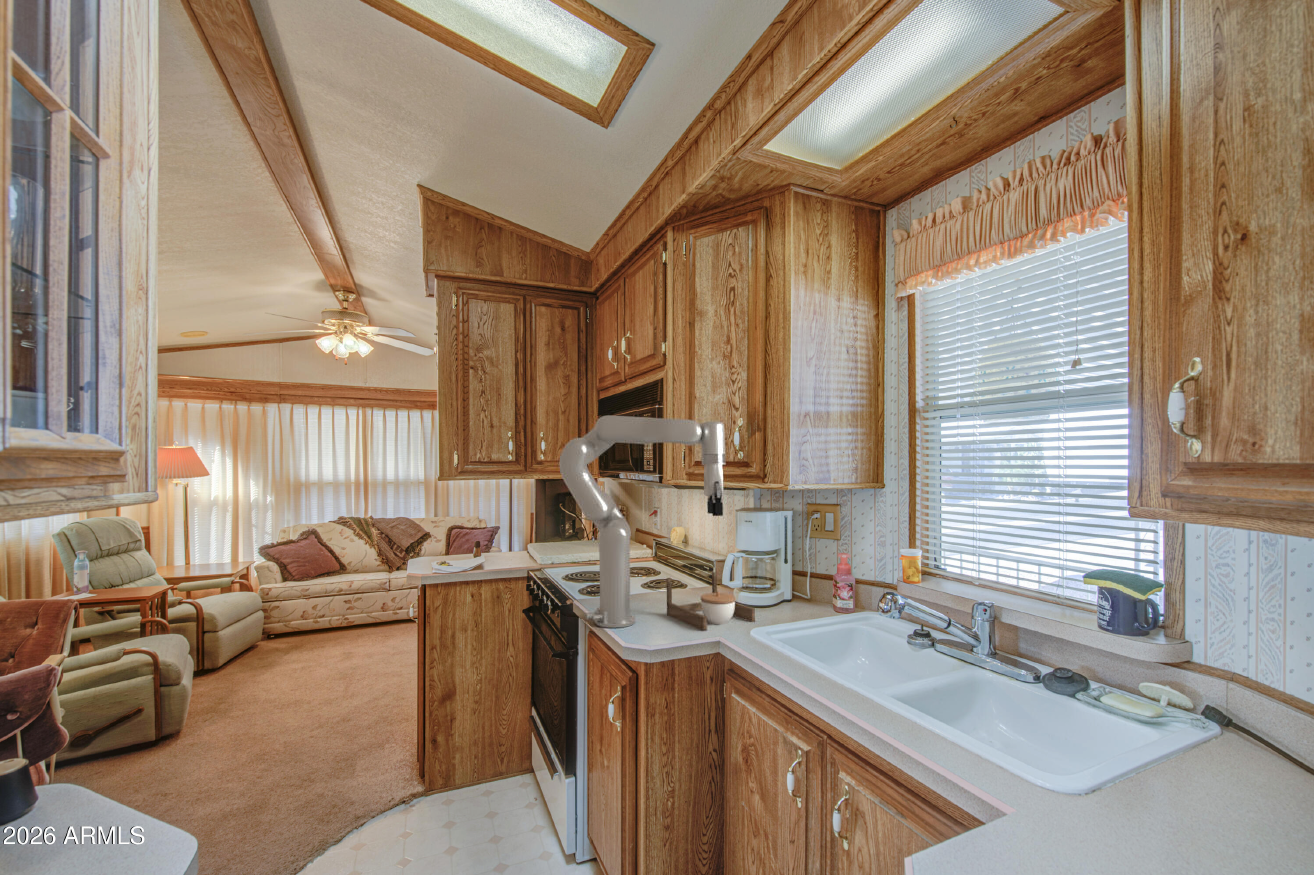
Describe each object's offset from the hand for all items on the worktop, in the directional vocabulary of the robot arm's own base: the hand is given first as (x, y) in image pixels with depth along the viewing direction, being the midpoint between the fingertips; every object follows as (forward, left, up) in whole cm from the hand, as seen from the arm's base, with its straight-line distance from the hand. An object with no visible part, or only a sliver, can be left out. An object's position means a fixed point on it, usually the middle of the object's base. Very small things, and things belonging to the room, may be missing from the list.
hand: (715, 514), depth 176 cm
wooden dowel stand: (0, +4, -33) cm, 34 cm away
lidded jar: (0, 0, -34) cm, 34 cm away
